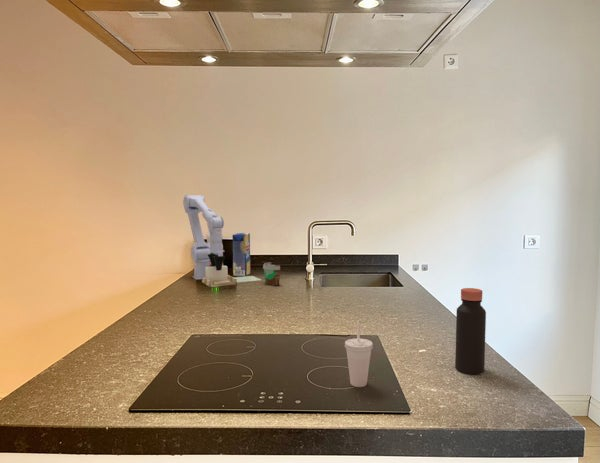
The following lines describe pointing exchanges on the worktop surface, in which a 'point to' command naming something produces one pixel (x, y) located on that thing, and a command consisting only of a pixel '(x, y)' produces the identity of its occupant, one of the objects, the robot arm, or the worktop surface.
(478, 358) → the bottle
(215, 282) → the offcut upper
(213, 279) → the beige rectangular block
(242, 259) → the beverage box
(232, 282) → the rack
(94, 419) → the worktop surface
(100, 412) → the worktop surface
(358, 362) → the smoothie
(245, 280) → the board
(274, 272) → the food container
